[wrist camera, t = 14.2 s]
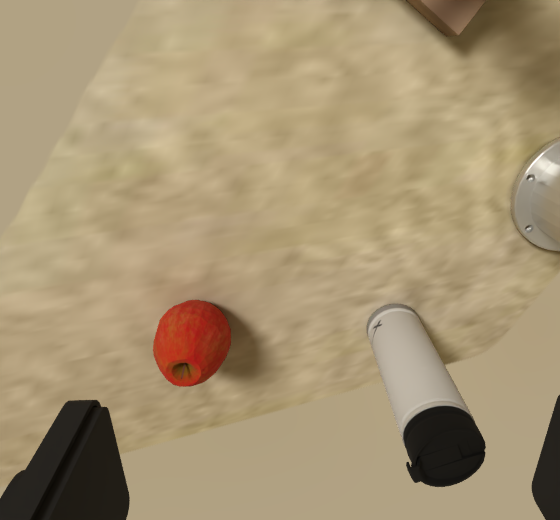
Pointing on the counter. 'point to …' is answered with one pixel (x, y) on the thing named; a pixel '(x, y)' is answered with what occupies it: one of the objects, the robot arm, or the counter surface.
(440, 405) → the travel mug
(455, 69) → the counter surface
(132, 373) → the counter surface
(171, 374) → the apple
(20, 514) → the robot arm
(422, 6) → the walnut base
